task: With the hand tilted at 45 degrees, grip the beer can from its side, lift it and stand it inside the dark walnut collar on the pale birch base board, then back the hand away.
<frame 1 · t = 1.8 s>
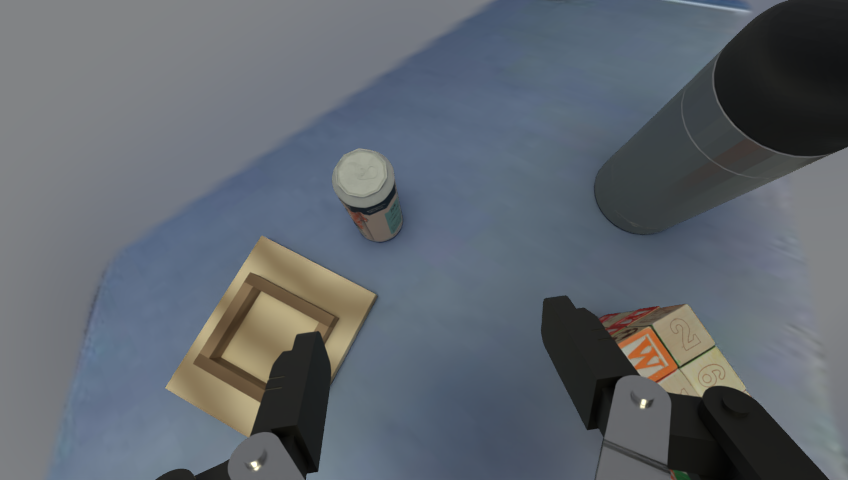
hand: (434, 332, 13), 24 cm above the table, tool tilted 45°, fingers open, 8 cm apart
beer can: (380, 221, 40), on the table
base board: (279, 339, 36), on the table
stack of blocks: (642, 434, 35), on the table
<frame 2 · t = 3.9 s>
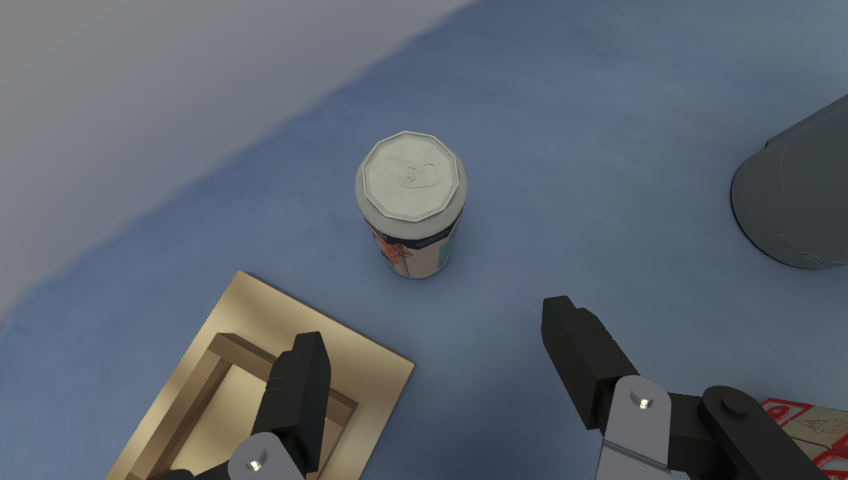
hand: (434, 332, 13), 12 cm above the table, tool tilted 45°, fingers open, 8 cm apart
beer can: (417, 247, 27), on the table
base board: (264, 433, 24), on the table
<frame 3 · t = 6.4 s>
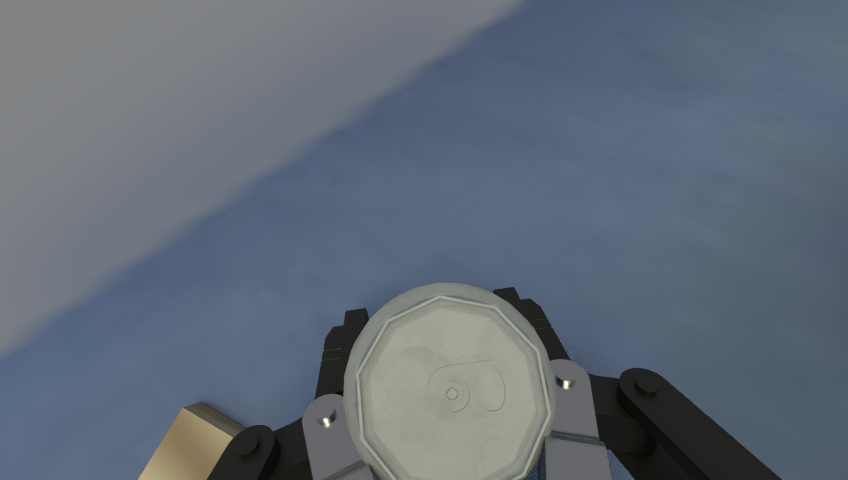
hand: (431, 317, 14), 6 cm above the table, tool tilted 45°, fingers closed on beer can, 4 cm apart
beer can: (435, 360, 19), on the table, touching gripper
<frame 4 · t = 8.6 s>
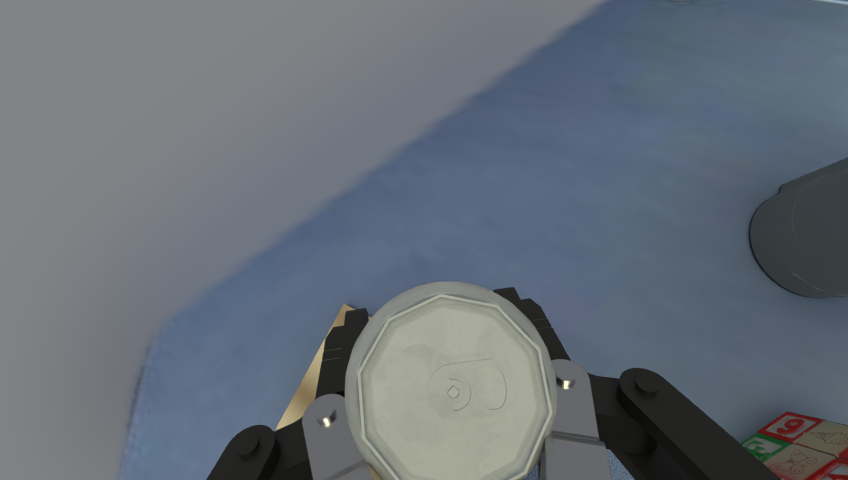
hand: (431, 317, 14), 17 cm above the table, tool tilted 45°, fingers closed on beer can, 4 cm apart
beer can: (436, 360, 19), point 12 cm above the table, touching gripper
base board: (370, 436, 29), on the table
when the fingers open (8 cm above the table, at t = 11.2 s): beer can drops 1 cm, resting on base board.
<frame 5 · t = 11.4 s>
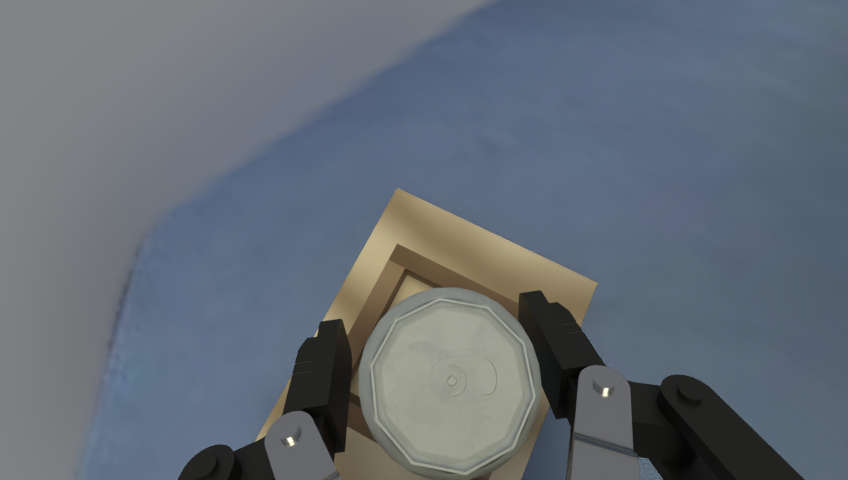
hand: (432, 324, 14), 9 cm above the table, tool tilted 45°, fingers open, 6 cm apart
beer can: (437, 363, 21), point 1 cm above the table, touching base board
base board: (433, 358, 22), on the table
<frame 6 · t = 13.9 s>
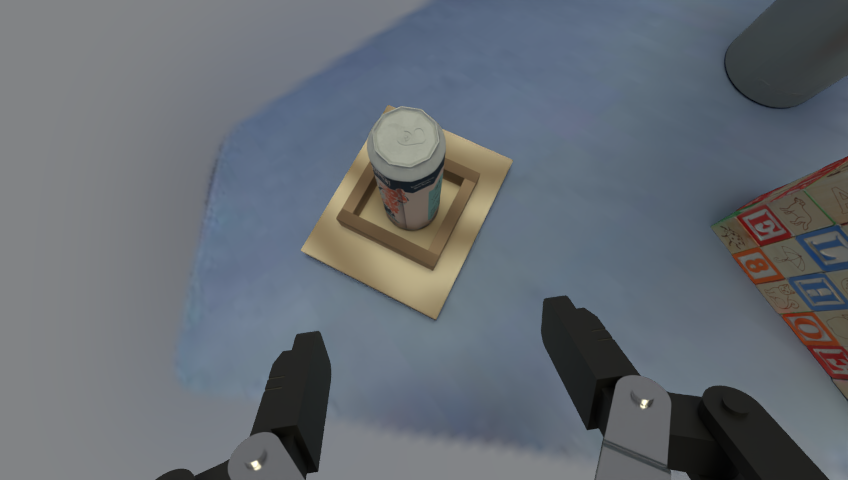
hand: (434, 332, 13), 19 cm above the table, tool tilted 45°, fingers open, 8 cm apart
beer can: (412, 206, 34), point 1 cm above the table, touching base board
base board: (410, 209, 35), on the table
stack of blocks: (813, 312, 33), on the table
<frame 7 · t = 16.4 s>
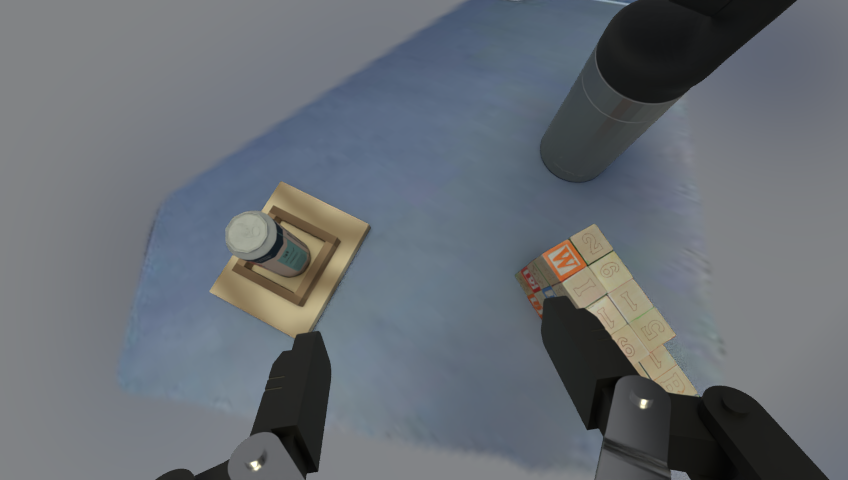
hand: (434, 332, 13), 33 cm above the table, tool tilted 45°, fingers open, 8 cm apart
beer can: (292, 258, 46), point 1 cm above the table, touching base board
base board: (294, 259, 48), on the table
stack of blocks: (582, 338, 45), on the table
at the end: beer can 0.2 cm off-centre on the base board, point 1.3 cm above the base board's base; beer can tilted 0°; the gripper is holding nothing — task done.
